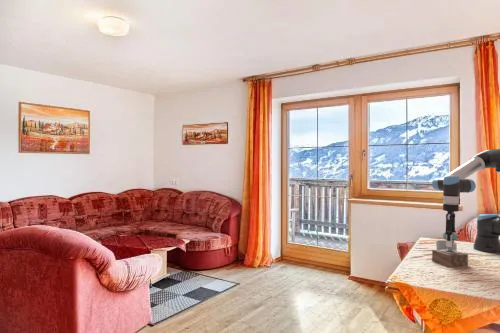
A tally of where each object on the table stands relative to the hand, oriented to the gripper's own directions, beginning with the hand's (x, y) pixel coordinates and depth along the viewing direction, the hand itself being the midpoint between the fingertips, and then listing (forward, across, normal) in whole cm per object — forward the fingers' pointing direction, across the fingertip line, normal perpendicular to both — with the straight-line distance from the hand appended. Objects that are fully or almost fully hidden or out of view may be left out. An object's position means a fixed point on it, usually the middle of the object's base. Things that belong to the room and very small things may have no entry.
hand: (450, 245), depth 187 cm
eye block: (+10, 0, 0) cm, 10 cm away
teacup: (+10, -19, -5) cm, 22 cm away
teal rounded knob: (+9, 0, 0) cm, 9 cm away
